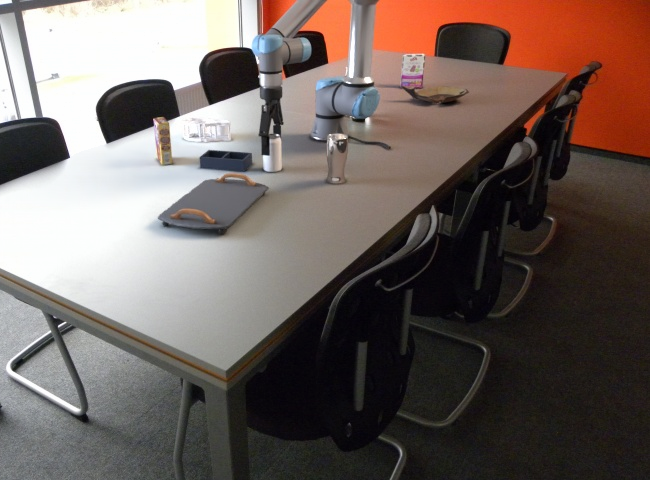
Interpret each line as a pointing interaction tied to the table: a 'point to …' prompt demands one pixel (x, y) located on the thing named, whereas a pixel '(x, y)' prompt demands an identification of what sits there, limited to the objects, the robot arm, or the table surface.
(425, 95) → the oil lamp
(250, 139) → the table surface
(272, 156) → the can
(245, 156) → the tray
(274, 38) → the robot arm
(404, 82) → the candy bar box
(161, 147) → the candy box
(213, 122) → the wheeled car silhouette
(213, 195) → the serving tray
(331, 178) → the beer glass
